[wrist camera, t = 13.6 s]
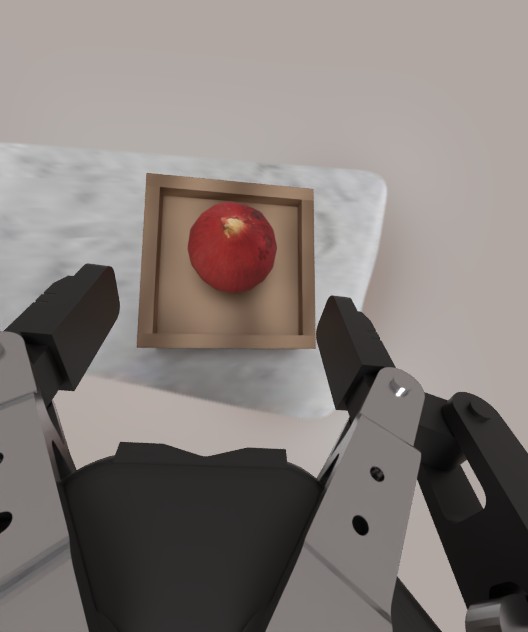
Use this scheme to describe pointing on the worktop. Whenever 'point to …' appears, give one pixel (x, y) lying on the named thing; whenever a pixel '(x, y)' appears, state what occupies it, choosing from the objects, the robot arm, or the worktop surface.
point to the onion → (232, 247)
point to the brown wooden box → (215, 305)
